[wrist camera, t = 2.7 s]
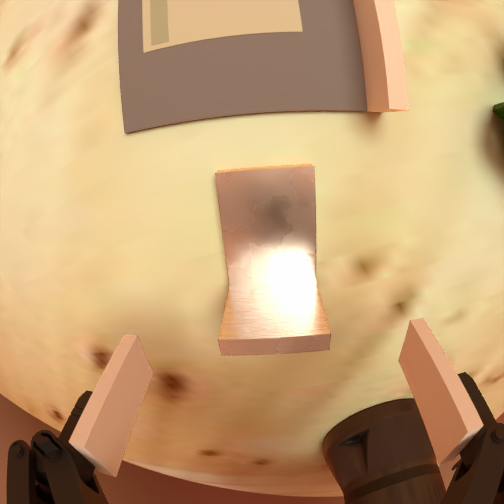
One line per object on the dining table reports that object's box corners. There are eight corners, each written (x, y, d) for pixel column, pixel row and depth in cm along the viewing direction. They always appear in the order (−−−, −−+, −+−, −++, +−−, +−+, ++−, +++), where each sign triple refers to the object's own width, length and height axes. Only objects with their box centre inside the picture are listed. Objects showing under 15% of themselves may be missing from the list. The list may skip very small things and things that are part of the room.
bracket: (313, 286, 22) (329, 349, 15) (233, 291, 22) (221, 355, 16) (311, 164, 18) (336, 183, 12) (218, 170, 19) (193, 193, 12)
